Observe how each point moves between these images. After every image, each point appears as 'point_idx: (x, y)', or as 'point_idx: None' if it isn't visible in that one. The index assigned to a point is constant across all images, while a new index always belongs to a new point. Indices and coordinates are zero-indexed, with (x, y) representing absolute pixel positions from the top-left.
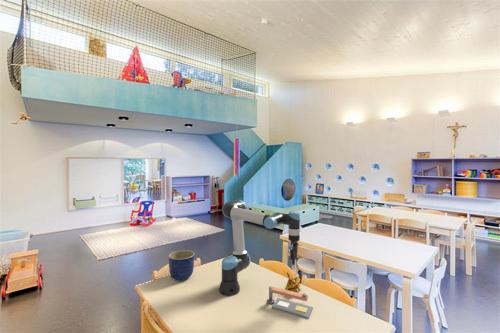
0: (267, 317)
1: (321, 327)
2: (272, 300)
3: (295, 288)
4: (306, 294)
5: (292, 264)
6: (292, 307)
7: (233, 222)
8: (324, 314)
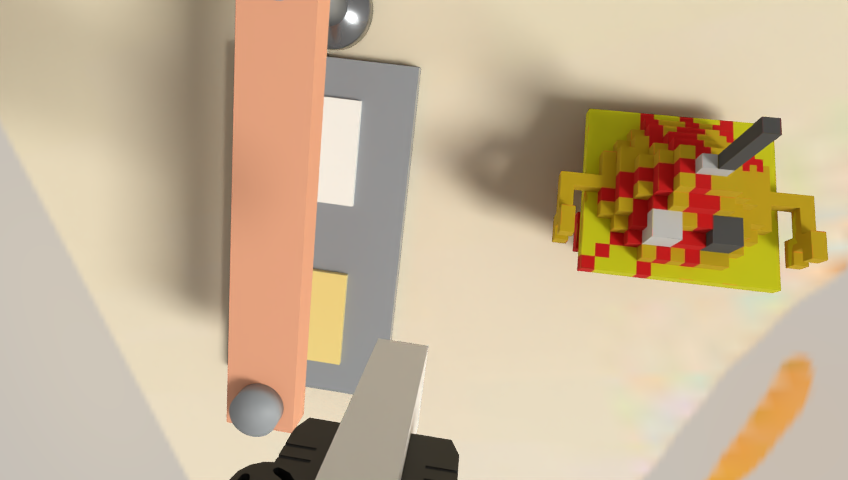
0: (104, 51)
1: (183, 449)
2: (342, 24)
3: (574, 245)
4: (261, 432)
5: (305, 432)
6: None
7: None
8: None
